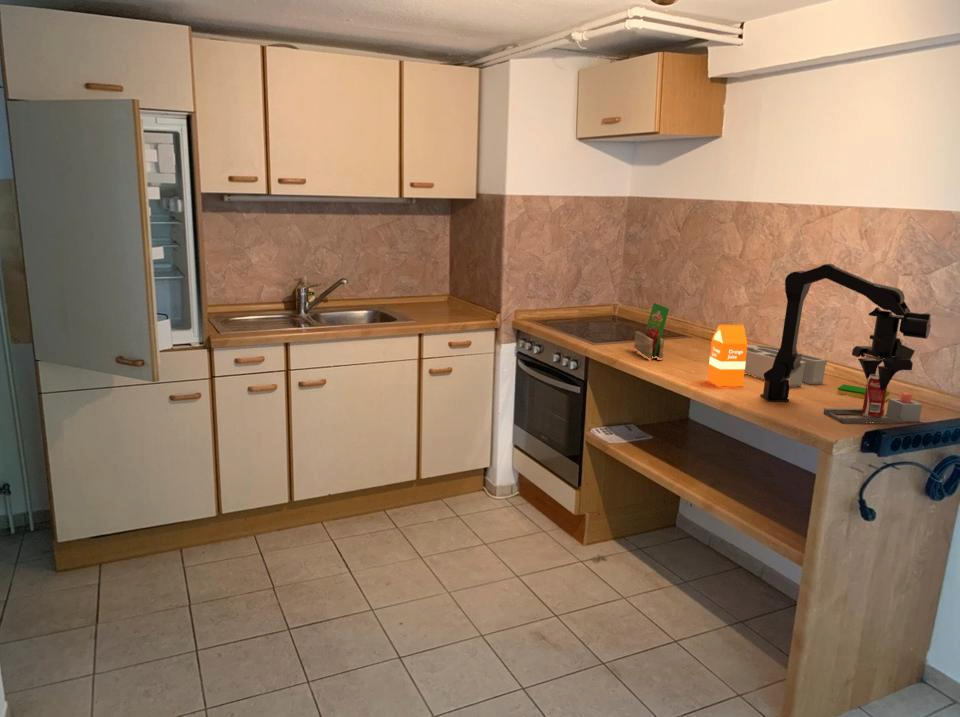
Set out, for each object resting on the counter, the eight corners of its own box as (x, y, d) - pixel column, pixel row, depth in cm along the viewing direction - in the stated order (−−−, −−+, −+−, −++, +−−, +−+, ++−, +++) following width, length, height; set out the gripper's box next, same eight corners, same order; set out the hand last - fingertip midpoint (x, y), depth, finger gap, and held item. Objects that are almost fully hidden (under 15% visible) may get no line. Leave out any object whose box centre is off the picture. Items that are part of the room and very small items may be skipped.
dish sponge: (883, 403, 230) (885, 396, 230) (836, 395, 239) (837, 387, 238) (888, 399, 236) (889, 392, 235) (842, 391, 244) (843, 383, 244)
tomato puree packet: (638, 351, 293) (652, 302, 289) (640, 351, 293) (655, 302, 289) (652, 360, 278) (668, 308, 274) (655, 360, 278) (670, 309, 274)
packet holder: (648, 360, 277) (650, 339, 275) (633, 351, 293) (635, 331, 291) (662, 360, 277) (664, 340, 276) (647, 351, 294) (648, 331, 292)
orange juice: (742, 387, 243) (750, 327, 239) (717, 387, 242) (724, 326, 237) (731, 380, 251) (737, 322, 246) (706, 381, 249) (713, 322, 245)
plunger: (902, 412, 212) (905, 395, 210) (896, 409, 214) (898, 392, 213) (911, 412, 212) (914, 395, 211) (904, 409, 215) (907, 392, 214)
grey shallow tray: (842, 423, 206) (843, 418, 206) (823, 413, 216) (824, 408, 215) (902, 423, 209) (903, 418, 208) (880, 413, 218) (881, 408, 217)
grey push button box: (899, 421, 210) (902, 404, 209) (886, 415, 216) (888, 398, 215) (919, 421, 211) (922, 404, 210) (905, 415, 217) (907, 398, 216)
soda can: (864, 412, 216) (870, 372, 213) (883, 416, 213) (890, 375, 210) (859, 415, 212) (866, 375, 209) (879, 419, 209) (886, 378, 206)
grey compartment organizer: (789, 389, 244) (793, 363, 242) (726, 370, 268) (728, 346, 266) (824, 384, 251) (827, 359, 249) (759, 366, 275) (762, 343, 273)
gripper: (935, 340, 199) (925, 396, 202) (890, 327, 217) (881, 379, 221) (897, 339, 198) (887, 396, 201) (854, 327, 216) (846, 378, 219)
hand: (876, 387), depth 211 cm, fingers closed on soda can, 5 cm apart
